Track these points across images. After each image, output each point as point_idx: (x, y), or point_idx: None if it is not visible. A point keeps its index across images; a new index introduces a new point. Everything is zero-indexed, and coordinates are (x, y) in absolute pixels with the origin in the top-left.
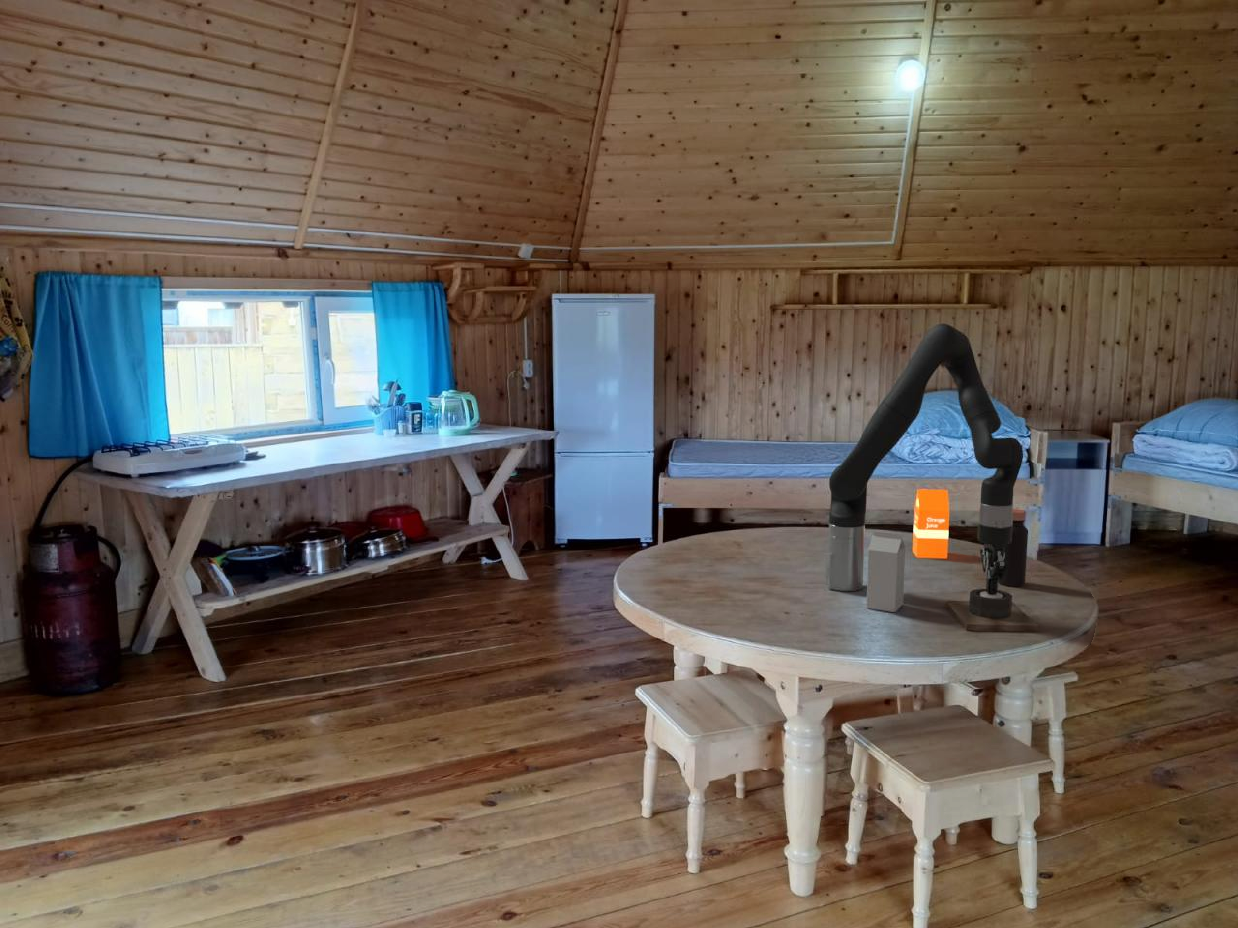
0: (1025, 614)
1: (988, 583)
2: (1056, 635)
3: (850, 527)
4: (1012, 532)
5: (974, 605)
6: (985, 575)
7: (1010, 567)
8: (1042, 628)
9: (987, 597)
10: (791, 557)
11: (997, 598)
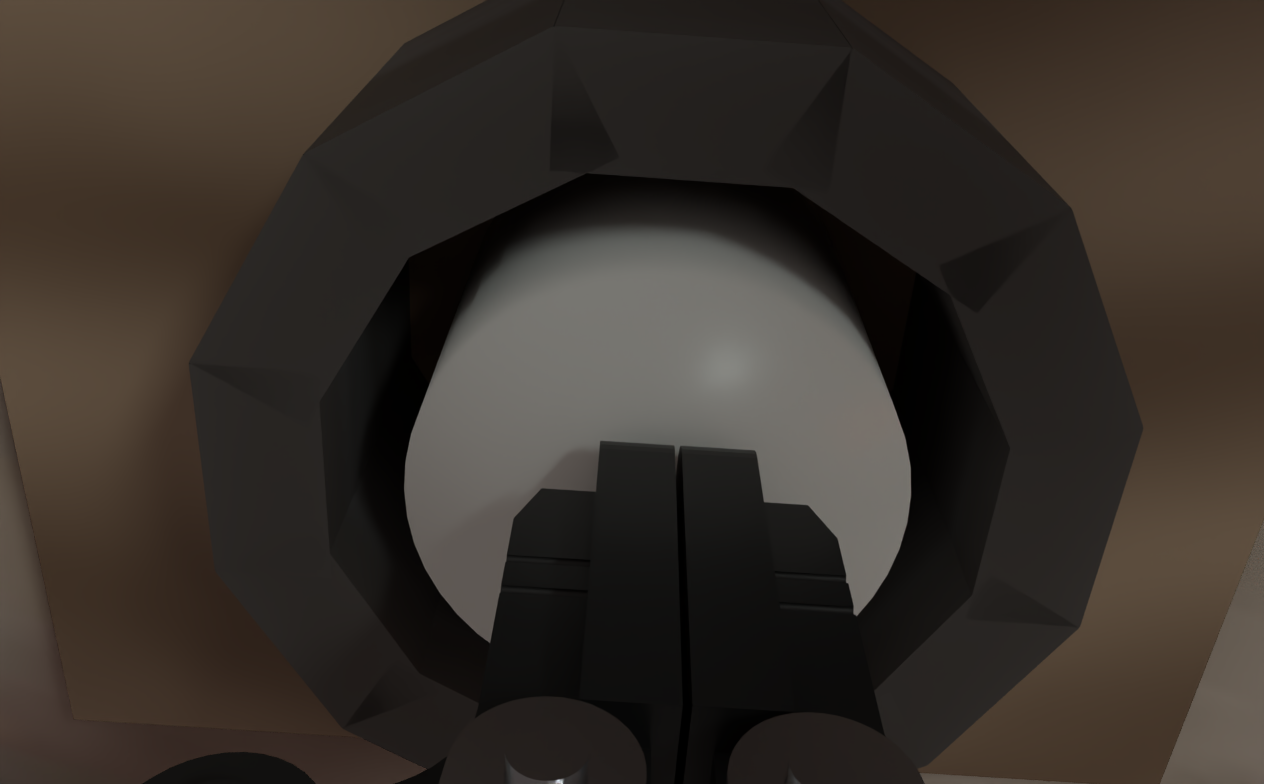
0: None
1: (592, 603)
2: (10, 779)
3: None
4: None
5: (527, 6)
6: (819, 735)
7: None
8: (254, 742)
9: (458, 349)
10: None
11: (320, 514)
